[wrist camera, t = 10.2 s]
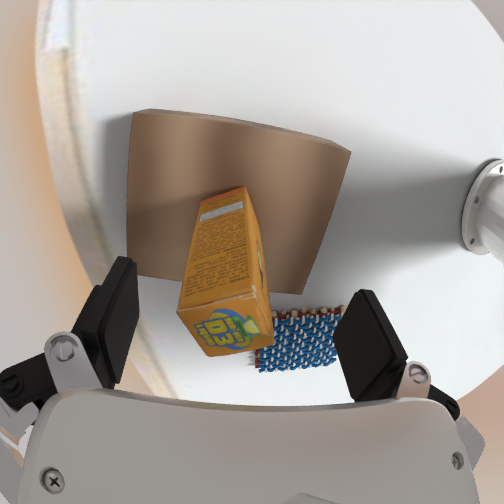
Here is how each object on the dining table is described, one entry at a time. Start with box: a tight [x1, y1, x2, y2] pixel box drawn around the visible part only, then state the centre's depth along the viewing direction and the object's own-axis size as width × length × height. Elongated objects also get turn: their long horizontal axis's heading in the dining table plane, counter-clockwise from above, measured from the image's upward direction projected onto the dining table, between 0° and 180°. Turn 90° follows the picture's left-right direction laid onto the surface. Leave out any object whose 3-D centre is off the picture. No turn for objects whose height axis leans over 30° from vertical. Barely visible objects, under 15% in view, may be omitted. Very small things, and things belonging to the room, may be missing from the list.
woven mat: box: [255, 306, 347, 372], centre depth 32 cm, size 10×11×2 cm
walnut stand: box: [127, 109, 351, 295], centre depth 20 cm, size 14×12×4 cm
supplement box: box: [176, 187, 275, 357], centre depth 14 cm, size 3×3×10 cm
